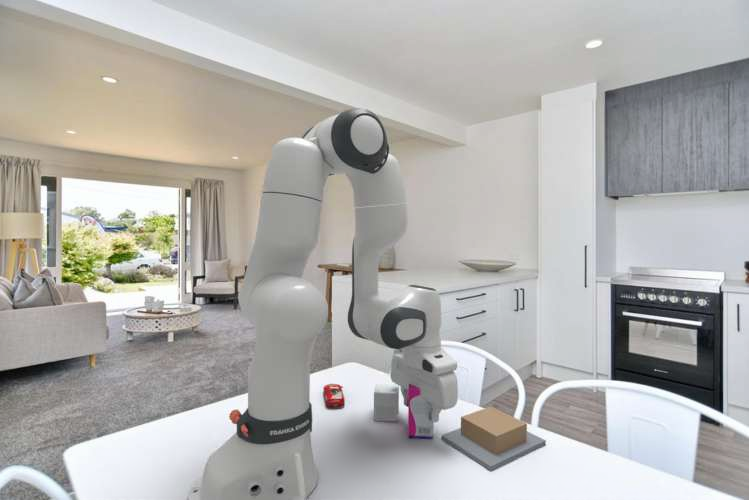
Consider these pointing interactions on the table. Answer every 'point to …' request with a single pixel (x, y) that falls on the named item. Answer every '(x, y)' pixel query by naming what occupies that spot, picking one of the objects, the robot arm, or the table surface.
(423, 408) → the supplement box
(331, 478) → the table surface
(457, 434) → the build base
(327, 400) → the race car
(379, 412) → the product box
